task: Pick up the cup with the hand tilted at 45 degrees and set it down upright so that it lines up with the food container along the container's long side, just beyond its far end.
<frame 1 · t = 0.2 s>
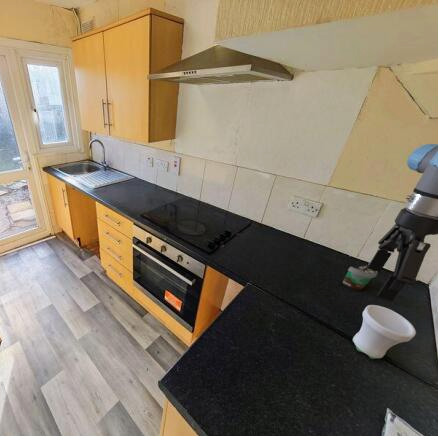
hand: (378, 282, 62), 27 cm above the table, tool pointing down, fingers open, 13 cm apart
cup: (365, 349, 74), on the table
food container: (356, 286, 100), on the table
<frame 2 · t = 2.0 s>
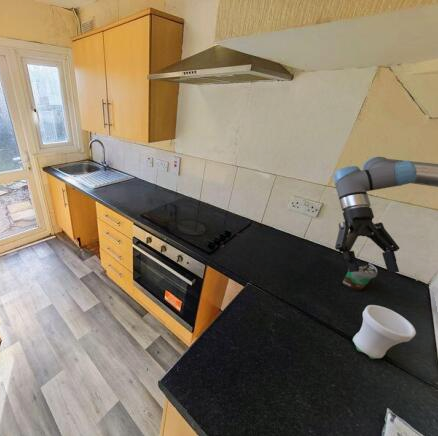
hand: (373, 272, 72), 24 cm above the table, tool tilted 45°, fingers open, 13 cm apart
nothing on the table moved.
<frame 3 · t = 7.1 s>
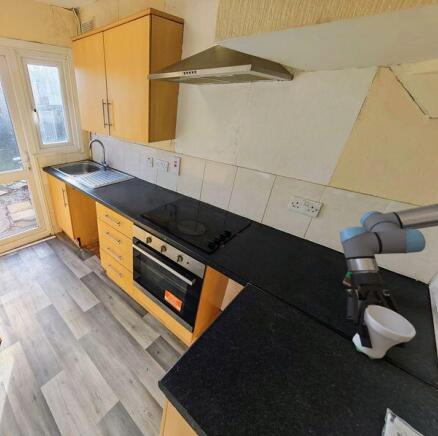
hand: (383, 347, 69), 5 cm above the table, tool tilted 45°, fingers closed on cup, 10 cm apart
cup: (365, 349, 74), on the table, touching gripper
everything else where it was.
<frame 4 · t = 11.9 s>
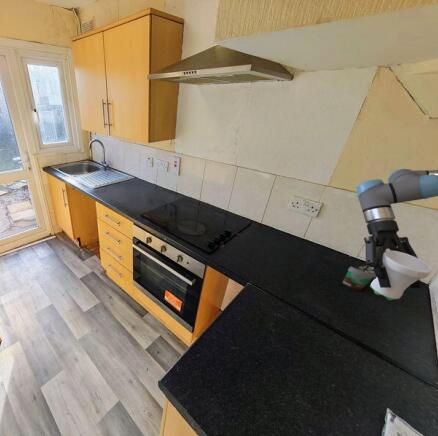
hand: (401, 287, 73), 19 cm above the table, tool tilted 45°, fingers closed on cup, 10 cm apart
cup: (382, 293, 79), point 13 cm above the table, touching gripper
everything else where it was.
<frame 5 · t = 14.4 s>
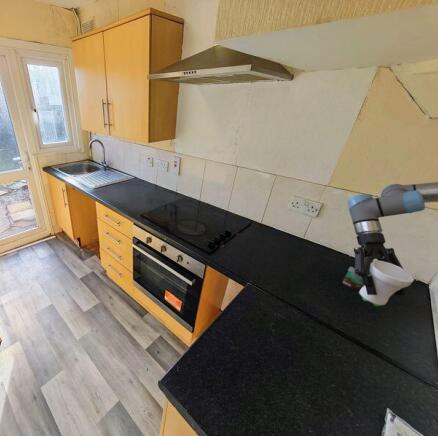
hand: (386, 295, 80), 12 cm above the table, tool tilted 45°, fingers closed on cup, 10 cm apart
cup: (370, 299, 86), point 6 cm above the table, touching gripper
everything else where it was.
when the fingers open (5 cm above the table, at t = 16.6 s): cup stays where it is, on the table.
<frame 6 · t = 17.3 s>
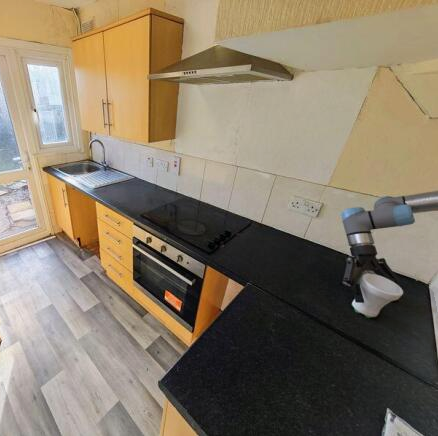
hand: (377, 303, 83), 7 cm above the table, tool tilted 45°, fingers open, 13 cm apart
cup: (362, 311, 88), on the table
everything else where it was.
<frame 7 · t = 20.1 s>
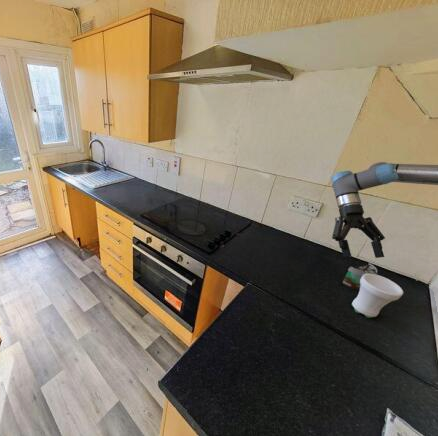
hand: (363, 257, 89), 18 cm above the table, tool tilted 45°, fingers open, 13 cm apart
nothing on the table moved.
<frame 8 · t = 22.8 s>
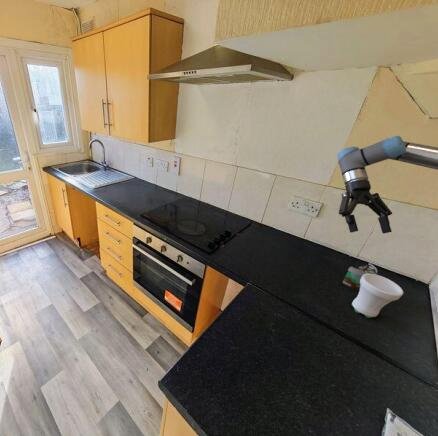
hand: (370, 232, 88), 28 cm above the table, tool tilted 45°, fingers open, 13 cm apart
nothing on the table moved.
at the end: cup inside the target area on the table beside the food container (0.2 cm from its centre), on the table; cup tilted 0°; food container moved 0.2 cm from its start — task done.
